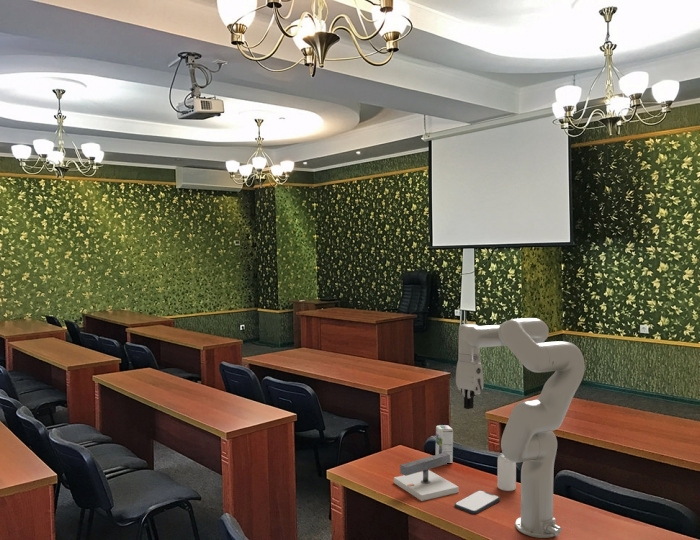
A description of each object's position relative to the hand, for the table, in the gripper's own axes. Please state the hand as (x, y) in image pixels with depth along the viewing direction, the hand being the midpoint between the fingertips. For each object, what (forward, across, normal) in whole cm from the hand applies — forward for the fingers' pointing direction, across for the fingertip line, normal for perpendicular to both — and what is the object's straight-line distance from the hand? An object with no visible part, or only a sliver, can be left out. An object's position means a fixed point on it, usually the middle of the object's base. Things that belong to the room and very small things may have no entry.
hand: (468, 408), depth 206 cm
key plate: (+29, +8, +13) cm, 33 cm away
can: (+29, -8, -11) cm, 32 cm away
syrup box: (+29, +24, -10) cm, 39 cm away
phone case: (+30, -12, +7) cm, 33 cm away
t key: (+27, +8, +13) cm, 31 cm away
